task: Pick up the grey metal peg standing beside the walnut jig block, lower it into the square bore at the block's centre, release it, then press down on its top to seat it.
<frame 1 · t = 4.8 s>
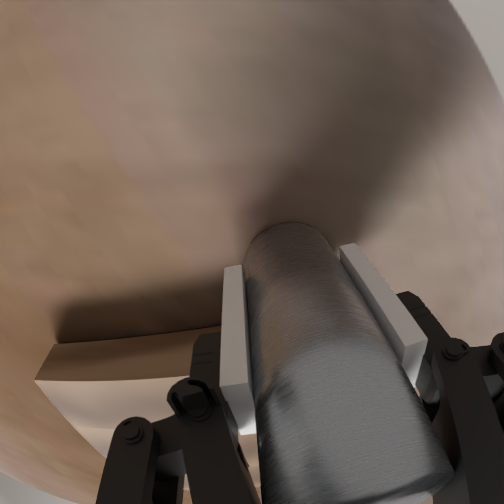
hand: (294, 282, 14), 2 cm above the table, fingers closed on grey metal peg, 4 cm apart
jig: (196, 413, 20), on the table
grey metal peg: (289, 264, 15), on the table, touching gripper
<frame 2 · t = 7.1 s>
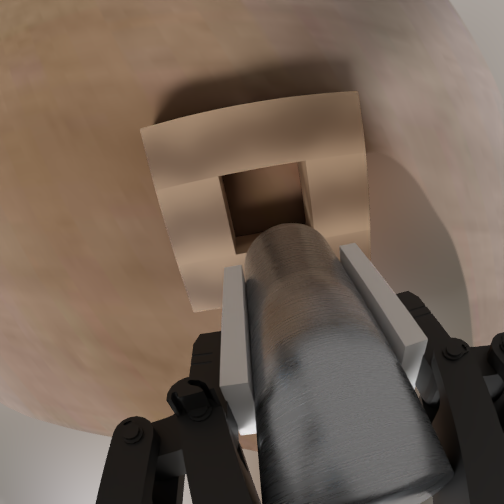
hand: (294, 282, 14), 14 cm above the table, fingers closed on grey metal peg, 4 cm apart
jig: (265, 196, 26), on the table
grey metal peg: (289, 265, 15), point 12 cm above the table, touching gripper
when the fingers open (5 cm above the table, at t = 9.3 s): grey metal peg drops 3 cm, resting in jig.
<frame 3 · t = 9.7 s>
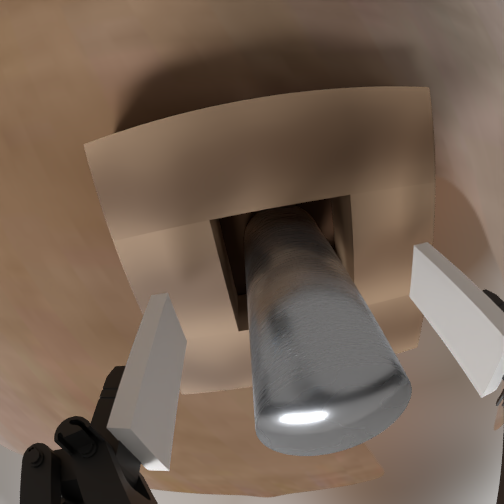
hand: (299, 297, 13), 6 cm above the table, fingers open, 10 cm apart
jig: (280, 240, 18), on the table
grey metal peg: (281, 240, 18), resting in jig
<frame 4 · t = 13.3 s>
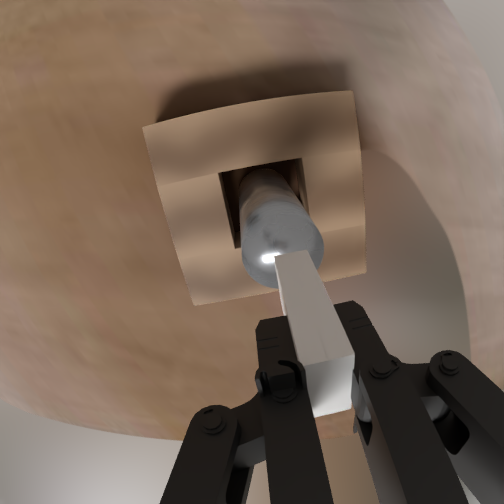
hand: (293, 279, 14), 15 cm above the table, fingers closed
jig: (263, 192, 27), on the table
grey metal peg: (263, 192, 27), resting in jig
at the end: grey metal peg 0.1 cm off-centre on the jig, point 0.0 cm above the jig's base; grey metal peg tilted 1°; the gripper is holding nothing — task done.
